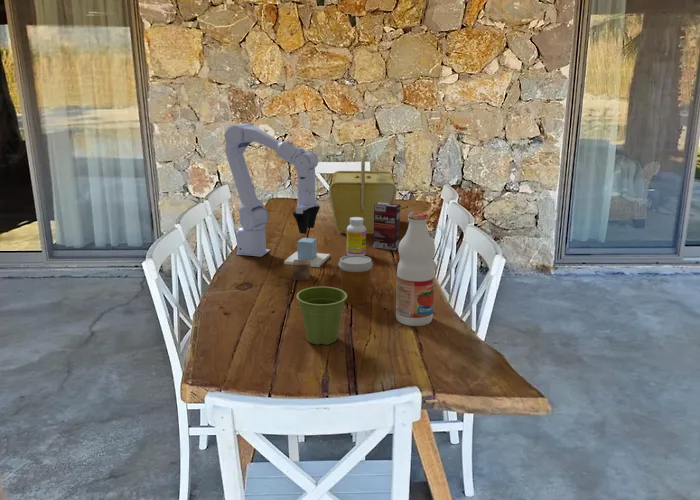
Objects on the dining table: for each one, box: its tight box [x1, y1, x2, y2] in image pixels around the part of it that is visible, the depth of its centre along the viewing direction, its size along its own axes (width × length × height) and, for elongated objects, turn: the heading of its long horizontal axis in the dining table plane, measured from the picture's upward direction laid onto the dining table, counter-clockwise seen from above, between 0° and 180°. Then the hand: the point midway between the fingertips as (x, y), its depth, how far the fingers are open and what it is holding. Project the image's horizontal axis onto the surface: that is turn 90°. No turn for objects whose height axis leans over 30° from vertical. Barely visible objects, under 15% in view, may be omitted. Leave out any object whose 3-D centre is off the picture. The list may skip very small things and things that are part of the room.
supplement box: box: [372, 202, 402, 251], centre depth 224 cm, size 9×5×16 cm, turn 68°
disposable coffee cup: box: [337, 255, 374, 306], centre depth 173 cm, size 10×10×12 cm
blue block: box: [296, 237, 318, 260], centre depth 209 cm, size 5×5×6 cm
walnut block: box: [292, 260, 311, 281], centre depth 193 cm, size 5×5×5 cm
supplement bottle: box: [346, 217, 367, 256], centre depth 215 cm, size 7×7×13 cm
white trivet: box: [283, 250, 331, 268], centre depth 210 cm, size 12×12×1 cm
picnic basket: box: [328, 148, 398, 235], centre depth 252 cm, size 29×26×30 cm
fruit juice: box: [395, 211, 436, 327], centre depth 158 cm, size 9×9×28 cm
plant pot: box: [296, 286, 347, 346], centre depth 148 cm, size 12×12×11 cm
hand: (306, 230), depth 208 cm, fingers open, 7 cm apart
